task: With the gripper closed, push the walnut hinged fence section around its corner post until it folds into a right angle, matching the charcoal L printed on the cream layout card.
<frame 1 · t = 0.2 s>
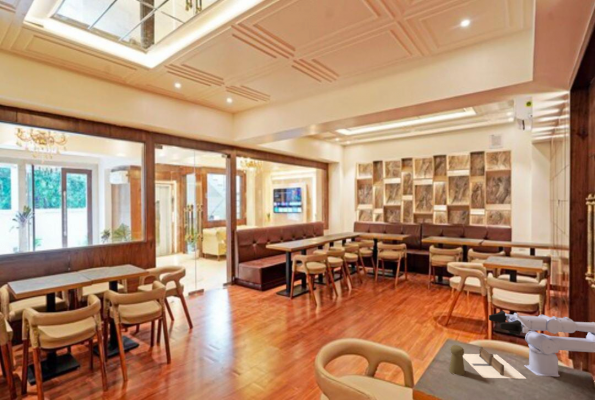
hand: (494, 321, 133), 21 cm above the table, tool horizontal, fingers open, 7 cm apart
cork: (456, 372, 132), on the table
layout card: (490, 366, 137), on the table
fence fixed: (490, 365, 137), resting on layout card
fence gate: (497, 366, 132), point 3 cm above the table, hinge at 0.0°
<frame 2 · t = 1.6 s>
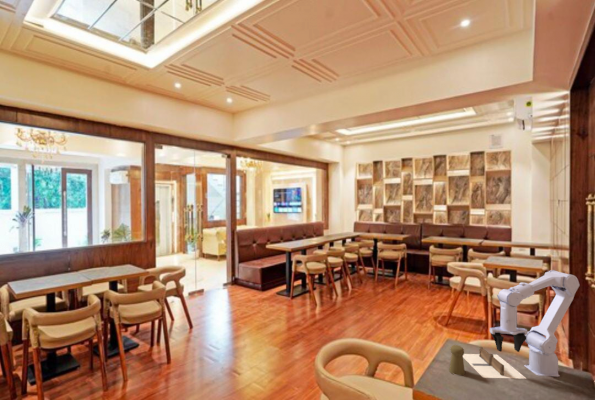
hand: (508, 350, 132), 9 cm above the table, tool pointing down, fingers open, 7 cm apart
nothing on the table moved.
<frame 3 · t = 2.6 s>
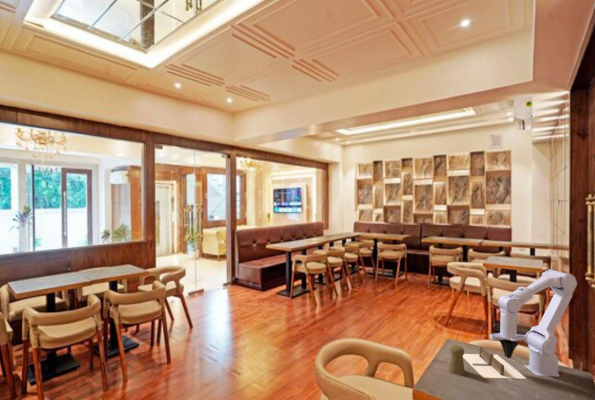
hand: (507, 357, 132), 7 cm above the table, tool pointing down, fingers closed
nothing on the table moved.
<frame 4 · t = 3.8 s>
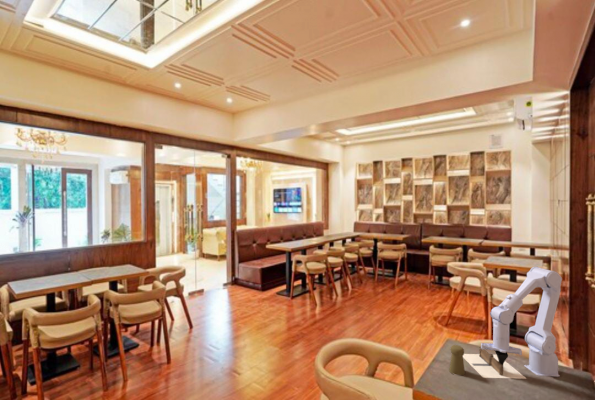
hand: (500, 368, 132), 2 cm above the table, tool pointing down, fingers closed, pressing on fence gate
fence gate: (497, 366, 132), point 3 cm above the table, hinge at 2.5°, touching gripper
everything else where it was.
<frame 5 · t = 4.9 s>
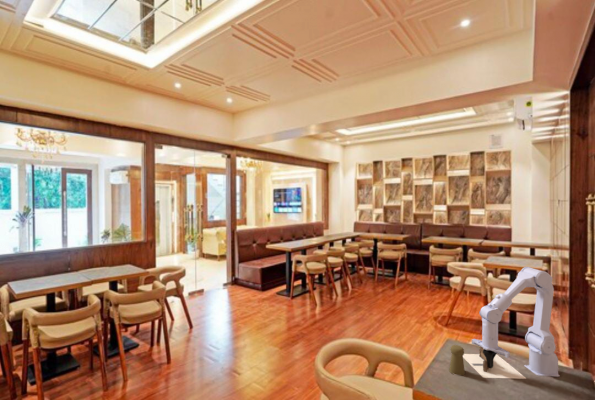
hand: (489, 367, 133), 2 cm above the table, tool pointing down, fingers closed, pressing on fence gate
fence gate: (487, 364, 134), point 3 cm above the table, hinge at 47.4°, touching gripper
everything else where it was.
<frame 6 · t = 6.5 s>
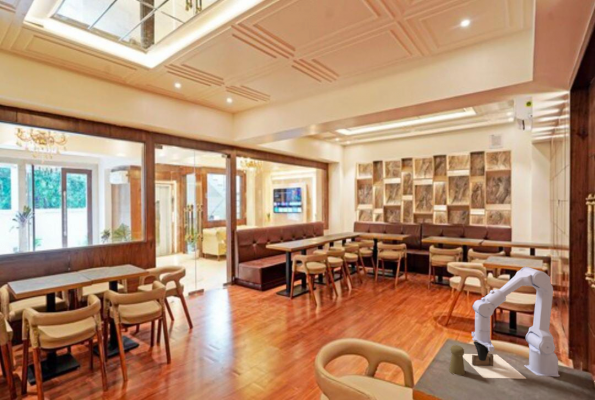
hand: (482, 360, 135), 4 cm above the table, tool pointing down, fingers closed
fence gate: (480, 360, 137), point 3 cm above the table, hinge at 88.4°
everything else where it was.
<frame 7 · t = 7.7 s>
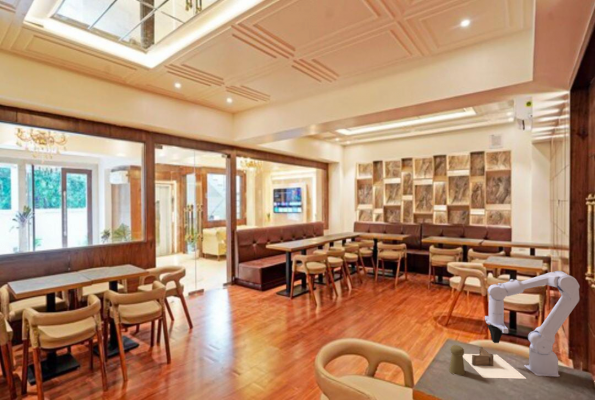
hand: (495, 342, 139), 9 cm above the table, tool pointing down, fingers closed
nothing on the table moved.
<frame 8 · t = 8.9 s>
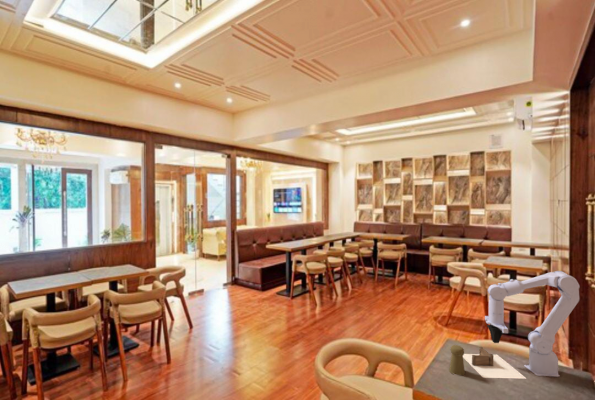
hand: (495, 342, 139), 9 cm above the table, tool pointing down, fingers closed
nothing on the table moved.
at the end: fence gate at +88° (first picture: +0°); cork moved 0.2 cm from its start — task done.
